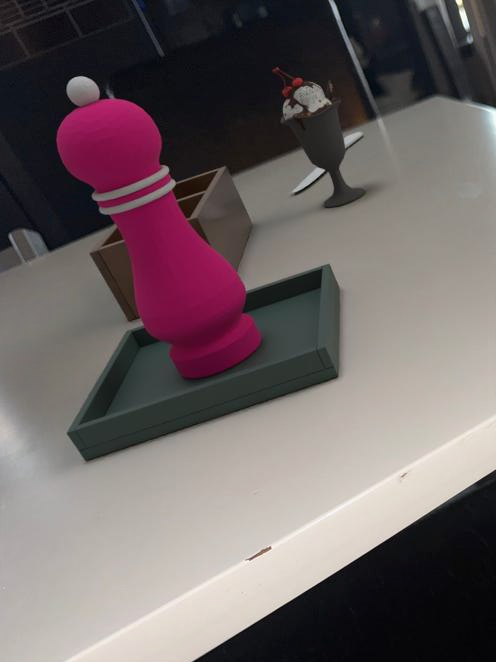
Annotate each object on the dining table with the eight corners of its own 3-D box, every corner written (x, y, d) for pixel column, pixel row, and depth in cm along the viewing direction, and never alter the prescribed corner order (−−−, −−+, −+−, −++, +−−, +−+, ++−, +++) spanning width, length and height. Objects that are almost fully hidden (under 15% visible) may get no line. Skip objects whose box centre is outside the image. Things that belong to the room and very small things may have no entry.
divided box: (128, 321, 71) (88, 253, 67) (169, 251, 88) (139, 194, 84) (231, 287, 71) (196, 217, 67) (252, 224, 88) (226, 165, 84)
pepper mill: (213, 388, 51) (50, 88, 42) (154, 378, 56) (-7, 104, 46) (288, 331, 56) (156, 50, 46) (228, 326, 60) (96, 68, 51)
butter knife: (366, 129, 113) (348, 134, 113) (304, 188, 93) (283, 193, 94) (367, 132, 113) (349, 137, 114) (305, 191, 93) (284, 196, 94)
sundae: (305, 214, 85) (248, 77, 78) (335, 190, 90) (284, 60, 83) (354, 207, 82) (299, 63, 75) (382, 182, 87) (333, 46, 80)
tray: (85, 461, 49) (65, 433, 48) (140, 354, 63) (125, 330, 62) (338, 376, 49) (325, 346, 48) (339, 288, 63) (329, 263, 62)
